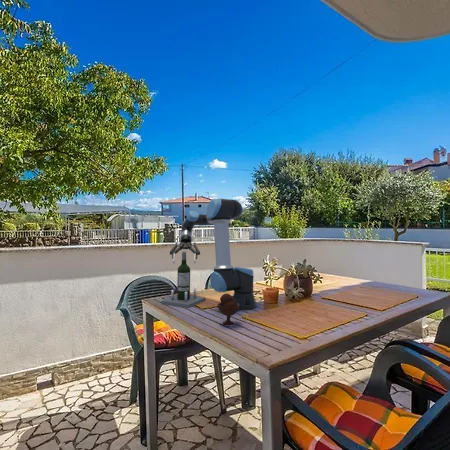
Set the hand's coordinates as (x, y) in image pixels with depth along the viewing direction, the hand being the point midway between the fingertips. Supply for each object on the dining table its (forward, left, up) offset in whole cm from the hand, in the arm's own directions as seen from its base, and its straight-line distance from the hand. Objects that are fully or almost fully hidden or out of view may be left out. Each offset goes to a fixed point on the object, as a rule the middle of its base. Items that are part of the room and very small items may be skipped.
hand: (184, 262), depth 189 cm
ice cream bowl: (-46, +29, -25) cm, 60 cm away
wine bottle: (-3, +4, -23) cm, 23 cm away
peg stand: (-3, +5, -24) cm, 25 cm away
